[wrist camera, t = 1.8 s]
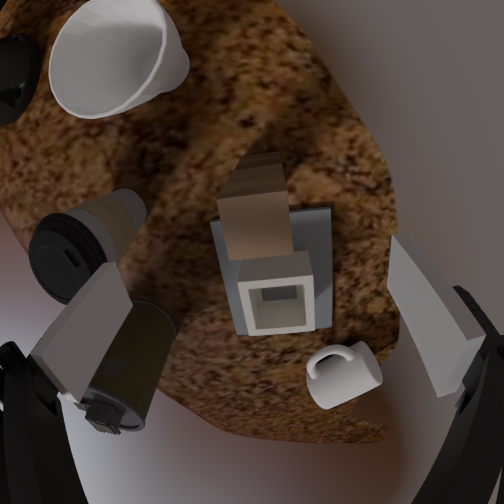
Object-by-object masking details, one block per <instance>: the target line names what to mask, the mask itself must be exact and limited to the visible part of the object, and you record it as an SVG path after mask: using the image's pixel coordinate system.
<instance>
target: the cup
mask: <svg viewBox="0 0 504 504" xmlns="http://www.w3.org/2000/svg"><path fill="white" fill-rule="evenodd" d="M189 68H190V61H189V57H188V55H187V53H186V52H185V50H184V49H183V48H182V44H181V40H180V37H179V33H178V31H177V29H176V27H175V24H174V22H173V20H172V19H171V18H170V16H169V15H168V13H167V12H166V11H165V9H164V8H163V7H162V6H161V5H160V4H159V3H158V2H157V0H90V1H88V2H87V3H85V4H84V5H82V6H81V7H80V8H79V9H78V10H77V11H76V12H75V13H74V14H73V15H72V16H71V17H70V18H69V19H68V21H67V22H66V23H65V25H64V26H63V28H62V29H61V31H60V32H59V34H58V37H57V39H56V41H55V43H54V45H53V48H52V52H51V56H50V61H49V80H50V85H51V90H52V92H53V94H54V96H55V98H56V100H57V102H58V103H59V104H60V105H61V106H62V107H63V108H64V109H65V110H66V111H67V112H68V113H71V114H73V115H75V116H77V117H79V118H89V119H95V118H100V117H105V116H110V115H113V114H117V113H121V112H124V111H127V110H129V109H131V108H133V107H135V106H137V105H140V104H142V103H144V102H146V101H148V100H151V99H152V98H154V97H155V96H157V95H158V94H160V93H164V92H169V91H171V90H174V89H175V88H177V87H178V86H180V85H181V84H182V82H183V81H184V80H185V78H186V77H187V75H188V72H189Z"/></svg>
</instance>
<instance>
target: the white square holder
mask: <svg viewBox="0 0 504 504" xmlns="http://www.w3.org/2000/svg"><path fill="white" fill-rule="evenodd" d="M293 253H294V254H291V255H281V256H271V257H261V258H251V259H242V260H241V266H240V271H239V276H238V281H237V284H238V288H239V293H240V297H241V302H242V307H243V311H244V316H245V320H246V325H247V329H248V334H249V336H256V335H271V334H283V333H295V332H305V331H315V313H314V283H313V272H312V267H311V263H310V258H309V254H308V250H306V251H297V252H293Z"/></svg>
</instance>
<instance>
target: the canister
mask: <svg viewBox="0 0 504 504" xmlns="http://www.w3.org/2000/svg"><path fill="white" fill-rule="evenodd" d="M131 302H132V304H133V307H132V308H131V310H130V312H129V313H128V315H127V317H126V318H125V320H124V322H123V324H122V325H121V327H120V329H119V330H118V332H117V334H116V336H115V337H114V339H113V341H112V343H111V344H110V346H109V348H108V350H107V352H106V353H105V355H104V357H103V359H102V361H101V362H100V364H99V366H98V368H97V370H96V372H95V374H94V376H93V377H92V379H91V381H90V383H89V385H88V387H87V389H86V391H85V393H84V395H83V397H82V399H81V401H80V403H75V402H73V403H74V404H75V405H76V406H77V407H78V408H79V409H81V410H84V411H86V416H85V419H86V420H87V421H88V422H89V423H90V424H91V425H92V426H93V427H94V428H95V429H96V430H98V431H100V432H104V433H105V432H108V433H111V434H115V435H116V434H120V432H119V431H120V430H118V429H121V430H126V431H140V430H142V429H143V428H144V427H145V419H146V416H147V413H148V410H149V407H150V404H151V401H152V398H153V395H154V392H155V390H156V387H157V384H158V381H159V378H160V375H161V373H162V370H163V367H164V364H165V362H166V359H167V356H168V353H169V351H170V348H171V345H172V343H173V342H174V340H175V338H176V333H177V331H176V327H175V324H174V322H173V320H172V318H171V317H170V316H169V314H168V313H167V312H165V311H164V310H163V309H161V308H160V307H158V306H157V305H155V304H154V303H151V302H148V301H145V300H136V299H133V300H131Z"/></svg>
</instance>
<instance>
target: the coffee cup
mask: <svg viewBox="0 0 504 504" xmlns="http://www.w3.org/2000/svg"><path fill="white" fill-rule="evenodd" d="M146 214H147V212H146V207H145V204H144V202H143V200H142V199H141V197H140V196H139V195H138V194H137V193H136V192H134V191H132V190H131V189H127V188H122V189H118V190H116V191H113V192H111V193H109V194H106V195H102V196H98V197H96V198H93V199H91V200H89V201H87V202H84V203H82V204H80V205H78V206H75V207H73V208H71V209H69V210H68V211H66V212H65V213H64V214H63V213H53V214H50V215H48V216H46V217H44V218H43V219H42V220H41V222H40V223H39V224H38V225H37V226H36V228H35V230H34V232H33V236H32V239H31V241H30V245H29V261H30V265H31V268H32V271H33V273H34V275H35V277H36V279H37V280H38V282H39V284H40V285H41V286H42V288H43V289H44V290H45V291H46V292H47V293H48V294H49V295H50V296H51V297H53V298H54V299H55V300H57V301H58V302H60V303H62V304H65V305H68V303H69V302H70V301H71V300H72V299H73V297H74V296H75V295H76V294H77V293H78V291H79V290H80V289H81V288H82V287H83V286H84V284H85V283H86V282H87V281H88V280H89V279H90V278H91V276H92V275H93V274H94V273H95V272H96V271H97V270H98V269H99V267H100V266H101V265H102V264H103V263H109V262H115V263H116V266H117V265H118V263H119V262H120V260H121V259H122V257H123V256H124V254H125V252H126V251H127V249H128V248H129V246H130V245H131V243H132V242H133V240H134V237H135V235H136V233H137V232H138V231H139V229H140V228H141V226H142V225H143V223H144V222H145V219H146Z"/></svg>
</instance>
